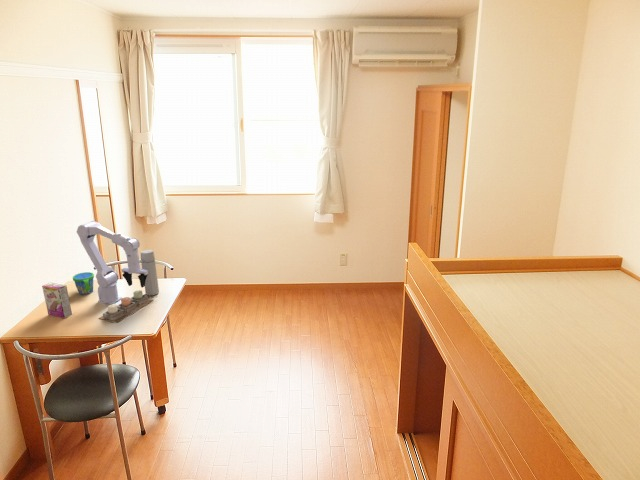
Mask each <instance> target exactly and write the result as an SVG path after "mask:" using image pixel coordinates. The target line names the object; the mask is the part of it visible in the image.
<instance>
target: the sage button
mask: <svg viewBox="0 0 640 480" xmlns="http://www.w3.org/2000/svg"><path fill="white" fill-rule="evenodd" d="M143 295H144V294H143V290H134V291H133V296H134V299H136V300H140V299H142V298H143Z"/></svg>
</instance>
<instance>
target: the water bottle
mask: <svg viewBox="0 0 640 480" xmlns="http://www.w3.org/2000/svg"><path fill="white" fill-rule="evenodd" d="M139 262H141V269H144V270H148V275H147V278H146V281H145V286H144V292H145V294H146V295H147V296H155V295H158V294H159V292H160V287H159V281H158V273H157V266H156V265H157V264H156V257H155V251H154V250H153V249H144V250H141V251H140V259H139Z"/></svg>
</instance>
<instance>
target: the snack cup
mask: <svg viewBox="0 0 640 480" xmlns="http://www.w3.org/2000/svg"><path fill="white" fill-rule="evenodd" d="M94 277H95V274H94V273H93V272H89V271H88V272H79V273H77V274H75V275H73V276H72V281H74V284H75V287H76V290H77V293H78V294H79V295H88V294H90V293H93V292H94Z"/></svg>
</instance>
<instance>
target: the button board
mask: <svg viewBox="0 0 640 480" xmlns="http://www.w3.org/2000/svg"><path fill="white" fill-rule="evenodd" d="M129 298H130V301H131V305H130V306H128V307H123V306H122V304H121V303H119V304H116V305H117V307H118V313H116V314H114V315H111V314H109V313H108V310H107V311H105V312H104V313H102V315H101V316H99V317H98V320H101V321H106V322H107V321H108V322H112V323H116V324H117V323H120V322H122V321H123V320H125V319H126V318H128V317H129V316H131V315H132V314H134V313H136V312H138V311H139V310H141V309H142V308H144V307H146V306H148V305H149V304H151V303H153V302H154V300H153V299H149V295H147V294H146V295H145V294H143V298H142V299H140V300H136V299H134V295H133V296H132V297H129Z"/></svg>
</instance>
